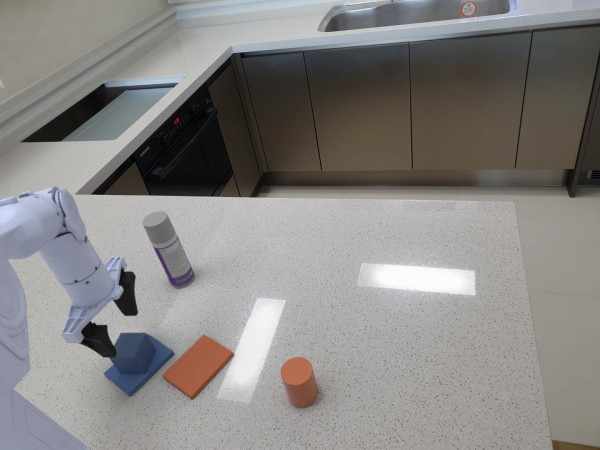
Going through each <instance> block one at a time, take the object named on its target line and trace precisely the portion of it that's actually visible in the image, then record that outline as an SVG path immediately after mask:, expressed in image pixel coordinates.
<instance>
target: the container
mask: <svg viewBox="0 0 600 450" xmlns="http://www.w3.org/2000/svg"><path fill="white" fill-rule="evenodd" d="M141 224H142V226H143V228H144V230H145V233H146V235H147V237H148V240H149V242H150V244H151V246H152V248H153V250H154V252H155V254H156V256H157V258H158V260H159V263H160V264H161V266H162V268H163V270H164V272H165V274H166V276H167V278H168V281H169V282H170V284H171V286H172V287H173V288H176V289H183V288H186V287H188V286H189V285H191V284H192V283H193V282H194V280H195V278H196V275H195V272H194V269H193V267H192V265H191V263H190V261H189V258H188V256H187V254H186V251H185V249H184V247H183V244H182V242H181V241H180V238H179V236H178V234H177V232H176V229H175V227H174V226H173V224H172V221H171V219H170V217H169V215H168V213H167V212H166V211H164V210H156V211H152V212H151V213H148V214H147V215H146V216H144V218H143V219H142V222H141Z"/></svg>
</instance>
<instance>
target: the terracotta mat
mask: <svg viewBox="0 0 600 450" xmlns="http://www.w3.org/2000/svg"><path fill="white" fill-rule="evenodd" d="M234 356H235V353H234V352H233V351H232V350H231V349H229V348H228V347H225V346H224V345H222V344H220V343H219V342H217V341H216V340H213V339H212V338H210V337H209V336H208V335H206V334H204V333H203V334H202V335H201V336H200V337H199V338H198V339H197V340H196V341H195V342H194V343H193V344H191V346H190V347H189V348H188V349H187V350H186V351H185V352H184V353H183V354H182V355H180V357H179V358H177V360H176V361H174V362H173V364H172V365H170V367H168V368H167V369H166V370H165V371H164V373H162V374H161V376H162V378H163V379H164V380H166V382H168V383H169V384H171V385H172V386H174V387H175V388H176V389H178V390H179V391H180V392H182V393H183V394H184V395H186V396H187V397H189V399H191V400H194V399H195V398H196V397H197V396H198V394H200V392H202V390H204V388H205V387H206V386H207V385H208V384H209V383H210V382H211V381H212V379H214V377H215V376H216V375H217V374H218V373H219V372H220V371H221V370H222V369H223V368H224V367H225V366H226V365H227V364H228V362H230V360H231V359H232V358H233V357H234Z"/></svg>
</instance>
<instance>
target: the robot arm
mask: <svg viewBox="0 0 600 450" xmlns="http://www.w3.org/2000/svg"><path fill="white" fill-rule="evenodd" d="M36 253H39V255H40V256H41V258H42V259H43V261H44V263H45V264H46V266H48V268H49V270H50V271H51V273H52V274H53V275H54V277H55V278H56V280H57V281H58V282H59V284H60V285H61V287H62V288H63V290H64V291H65V292H66V294H67V295H68V297H69V298H70V300H71V303H70V306H69V309H68V314H67V317H66V322H65V325H64V327H63V329H62V331H61V332H60V335H61V337H62V338H63V340H64V341H65V342H66V343H67V344H79V345H81V346H84V347H86V348H88V349H90V350H92V351H94V352H95V353H97V354H98V355H99V356H100V357H102V358H105V359H106V358H108V359H110V358H114V357H115V356H116V354H117V351H116V349H115V347H114V345H115V344H113V342H112V340H111V338H110V334H109V329H108V324H97V323H96V322H93V321H92V320H94V318H96V317H97V315H99V314H100V312H101V311H102V310H104V309H105V307H107V306H108V305H109V303H111V302H112V301H113V303H114V305H115V306H116V307H117V308H118V310H119V311H120V312H121V314H122V315H123V316H125V317H137V316H138V314H139V310H138V304H137V298H136V291H135V290H136V289H135V288H136V279H137V276H136V274H135V272H134V271H132V270H130V271H129V270H127V271H126V269H127V267H128V263H127V261H126V260H125V258H124V256H110V258H109V259H108V261H107V262H106V263H105V264H104V262H103V261H102V259H101V258H100V256H99V254H98V253H97V251H96V249H95V247H94V245H93V244H92V242H91V241H90V238H89V237H88V236H87V227H86V224H85V222H84V221H83V219H82V217H81V214H80V211H79V208H78V206H77V203H76V200H75V198H74V196H73V195H72V194H71V193H70V192H69V191H68V190H67V188H59V187H58V186H51V187H48V188H45V189H42V190H38V191H35V192H33V190H27V191H24V192H21V193H19V194H18V195H17V196H16V195H13V196H9V197H6V198H3V199H0V450H92V449H91V448H90V447H89V446H87V445H86V444H85V443H84V442H82V441H81V440H80V439H78V438H77V437H76V436H74V435H73V434H72V433H71V432H69V431H68V430H67V429H66V428H64V427H63V426H62V425H60V424H59V423H58V422H57V421H55V420H54V419H53V418H51V417H50V416H49V415H48V414H46V413H45V412H43V411H42V410H41V409H40V408H38V407H37V406H36V405H34V404H33V403H32V402H30V400H28V399H27V398H26V397H24V396H23V395H22V394H21V393H19V392H18V391H17V390H15V387H17V385H18V384H19V383H20V382H21V381H22V380H23V379H24V377H26V375H27V374H28V373H29V372H30V370H31V362H30V352H31V351H30V350H31V349H30V339H29V327H28V315H27V306H28V305H27V298H26V292H25V289H24V286H23V283H22V282H21V280H20V277H19V276H18V274H17V272H16V271H15V268H14V267H13V266H12V264H11V262H10V261H9V260H25V259H27V258H29V257H31V256H33V255H35V254H36Z"/></svg>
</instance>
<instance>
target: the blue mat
mask: <svg viewBox="0 0 600 450" xmlns="http://www.w3.org/2000/svg"><path fill="white" fill-rule="evenodd" d="M147 335H148V337H149V338H150V340H151V342H152V343H153V345H154V347H155V348H156V352H155V355H154V357H153V359H152V361H151V364H150V366H149V368H148V370H147V373H146V374H120V373H119V371H118V370H117V368H116V367H115V366H114V364H113V363H112V365H111V366H109V368H107V369H106V371H104V372H103V375H104V376H105V378H107V379H108V380H109V381H111V383H113V384H114V385H115V386H117V387H118V388H119V389H120V390H121V391H123V392H124V393H125V395H127V396H129V397H132V396H133V395H134V394H135V393H136V392H138V390H139V389H140V388H141V387H142V386H143V385H144V384H145V383H146V382H147V381H148V380H150V378H151V377H152V376H153V375H154V374H156V373H157V372H158V371H159V370H160V369H161V368H162V367H163V366H164V365H165V364H166V363H167V362H168V361H169V360H170V359H171V358H172V357H173V356H174V355H175V352H174V350H172V349H171V348H169V347H168V346H166V345H165V344H163V343H162V342H161V341H159V340H158V339H156V338H155V337H153V336H152V335H150V334H149V333H147Z"/></svg>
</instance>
